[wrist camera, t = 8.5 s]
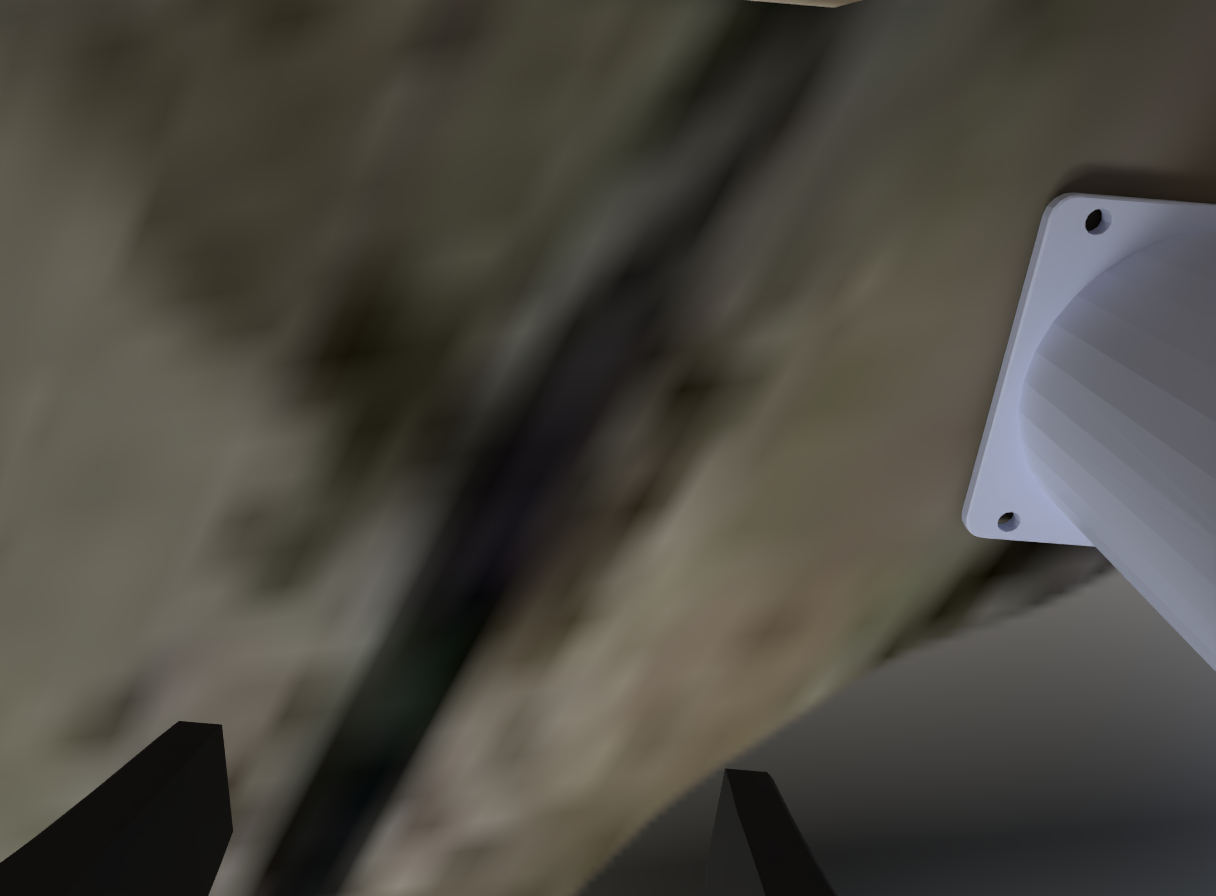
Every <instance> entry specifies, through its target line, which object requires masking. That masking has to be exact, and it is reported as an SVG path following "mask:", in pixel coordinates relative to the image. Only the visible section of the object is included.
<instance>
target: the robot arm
mask: <svg viewBox="0 0 1216 896" xmlns="http://www.w3.org/2000/svg"><path fill="white" fill-rule="evenodd" d="M1096 209H1100V210H1101V212H1102V220H1101V222H1100V224H1099V226H1098V227H1096V228H1095V229H1093V230H1092V231H1087V230H1086V228H1085V221H1086V219H1087V217H1088V215H1089V214H1090V213H1091V212H1093V211H1094V210H1096ZM1009 512H1013V514H1014V515H1013V517H1012V518H1011V520H1009V521H1008V522H1006V523H1002V524H998V520H999V518H1000V517H1001V516H1002V515H1003V514H1005V513H1009ZM962 521H963V523H964V525H965V527H966V528H967V529H968V531H969V532H970V533H972V534H973V535H974V536H977V537H981V538H992V539H1005V540H1018V541H1031V542H1044V543H1057V544H1070V545H1083V546H1095V547H1096V548H1097V549H1098V550H1099V551H1100V552H1101V553H1102V554H1103V555H1104V556H1105V557H1106V558H1107V559H1108V560H1109V561H1110V562H1111V563H1112V564H1113V565H1114V566H1115V568H1116V569H1117V570H1118V571H1119V572H1120V573H1121V574H1122V575H1123V576H1124V577H1125V578H1126V579H1127V580H1128V581H1129V582H1130V583H1131V584H1132V585H1133V586H1134V587H1135V588H1136V589H1137V590H1138V591H1139V592H1140V593H1141V594H1142V595H1143V596H1144V598H1145V599H1146V600H1147V601H1148V602H1149V603H1150V604H1151V605H1152V606H1153V607H1154V608H1155V609H1156V610H1157V611H1158V612H1159V613H1160V614H1161V615H1162V616H1163V617H1164V618H1165V619H1166V620H1167V621H1168V623H1169V624H1170V625H1171V626H1172V627H1173V628H1174V629H1175V630H1176V631H1177V632H1178V633H1179V634H1180V635H1181V636H1182V637H1183V638H1184V639H1185V640H1186V641H1187V642H1188V643H1189V644H1190V645H1191V646H1192V647H1193V648H1194V650H1195V651H1196V652H1197V653H1198V654H1199V655H1200V656H1201V657H1202V658H1203V659H1204V660H1205V661H1206V662H1207V663H1208V664H1209V665H1210V666H1211V667H1212V668H1213V669H1214V670H1215V671H1216V204H1209V203H1196V202H1184V201H1172V200H1160V199H1148V198H1136V197H1124V196H1111V195H1099V194H1087V193H1075V192H1072V193H1064V194H1062V195H1060V196H1058V197H1056V198H1054V199H1053V200H1052V201H1051V202H1050V203H1049V204H1048V205H1047V207H1046V209H1045V211H1044V213H1043V216H1042V219H1041V223H1040V227H1039V230H1038V234H1037V238H1036V241H1035V245H1034V249H1033V252H1032V256H1031V260H1030V263H1029V267H1028V271H1027V274H1026V278H1025V282H1024V285H1023V289H1022V293H1021V297H1020V300H1019V304H1018V308H1017V311H1016V315H1015V319H1014V322H1013V326H1012V330H1011V333H1010V337H1009V341H1008V344H1007V348H1006V352H1005V355H1004V359H1003V363H1002V366H1001V370H1000V374H999V377H998V381H997V385H996V389H995V392H994V396H993V400H992V403H991V407H990V411H989V414H988V418H987V422H986V425H985V429H984V433H983V436H982V440H981V444H980V447H979V451H978V455H977V458H976V462H975V466H974V469H973V473H972V477H971V480H970V484H969V488H968V492H967V495H966V499H965V503H964V506H963V510H962ZM232 833H233V826H232V816H231V807H230V797H229V788H228V778H227V769H226V759H225V750H224V740H223V730H222V725H219V724H208V723H196V722H185V721H178V722H177V723H176V724H175V725H173V726H172V727H171V728H169V729H168V730H167V731H166V732H164V733H163V734H162V735H161V736H159V737H158V738H157V739H156V740H154V741H153V742H152V743H151V744H150V745H148V746H147V747H146V748H145V749H144V750H142V751H141V752H140V753H139V754H137V755H136V756H135V757H134V758H133V759H131V760H130V761H129V762H128V763H127V764H125V765H124V766H123V767H122V768H121V769H119V770H118V771H117V772H116V773H115V774H113V775H112V776H111V777H110V778H108V779H107V780H106V781H105V782H104V783H102V784H101V785H100V786H99V787H97V788H96V789H95V790H94V791H93V792H91V793H90V794H89V795H88V796H86V797H85V798H84V799H83V800H81V801H80V802H79V803H78V804H76V805H75V806H74V807H73V808H71V809H70V810H69V811H67V812H66V813H65V814H64V815H62V816H61V817H60V818H59V819H57V820H56V821H55V822H54V823H52V824H51V825H50V826H49V827H47V828H46V829H45V830H44V831H42V832H41V833H40V834H38V835H37V836H36V837H35V838H33V839H32V840H31V841H29V842H28V843H27V844H25V845H24V846H23V847H21V848H20V849H19V850H17V851H16V852H14V853H13V854H12V855H10V856H9V857H8V858H6V859H5V860H4V861H2V862H1V863H0V896H208V895H209V892H210V890H211V887H212V885H213V882H214V880H215V877H216V875H217V872H218V870H219V867H220V865H221V862H222V859H223V857H224V854H225V851H226V849H227V846H228V843H229V841H230V838H231V835H232ZM705 882H706V896H837V894H836V892H835V891H834V889H833V888H832V886H831V884H830V883H829V881H828V879H827V878H826V876H825V875H824V873H823V871H822V869H821V868H820V866H819V864H818V863H817V861H816V859H815V857H814V856H813V854H812V852H811V850H810V849H809V847H808V845H807V843H806V842H805V840H804V838H803V836H802V834H801V832H800V831H799V829H798V827H797V825H796V823H795V821H794V819H793V817H792V816H791V814H790V812H789V810H788V808H787V806H786V804H785V802H784V800H783V798H782V796H781V794H780V792H779V790H778V788H777V786H776V784H775V782H774V780H773V779H772V777H771V776H770V775H769V774H768V773H767V772H759V771H747V770H736V769H725V772H724V777H723V782H722V787H721V793H720V798H719V802H718V808H717V813H716V818H715V823H714V828H713V833H712V838H711V844H710V849H709V853H708V858H707V864H706V869H705Z"/></svg>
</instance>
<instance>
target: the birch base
mask: <svg viewBox="0 0 1216 896" xmlns="http://www.w3.org/2000/svg"><path fill="white" fill-rule="evenodd" d="M750 1H762V2H774V3H786V4H798V5H809V6H821V7H833V8H834V7H838V6H842V5H846V4H850V3H854V2H857V1H861V0H750Z"/></svg>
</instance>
